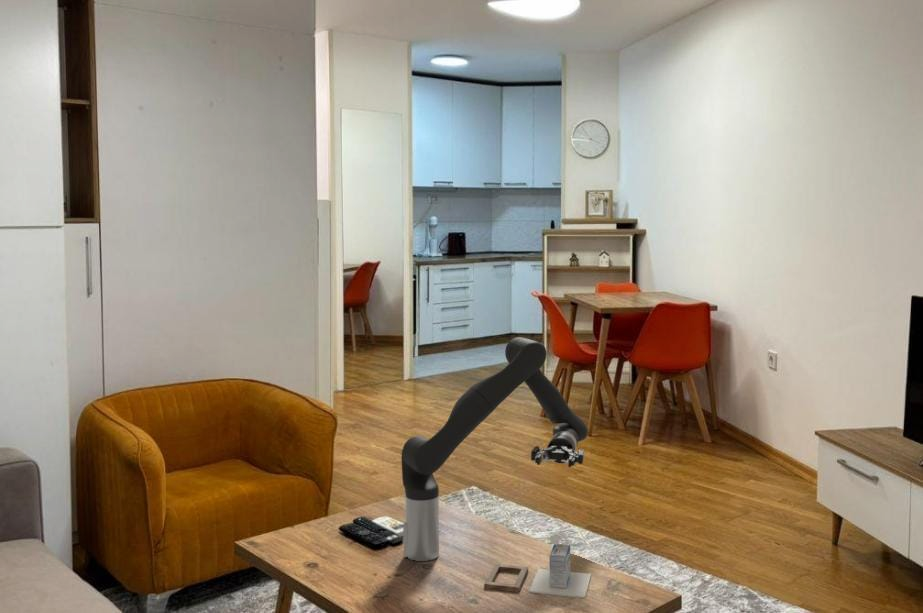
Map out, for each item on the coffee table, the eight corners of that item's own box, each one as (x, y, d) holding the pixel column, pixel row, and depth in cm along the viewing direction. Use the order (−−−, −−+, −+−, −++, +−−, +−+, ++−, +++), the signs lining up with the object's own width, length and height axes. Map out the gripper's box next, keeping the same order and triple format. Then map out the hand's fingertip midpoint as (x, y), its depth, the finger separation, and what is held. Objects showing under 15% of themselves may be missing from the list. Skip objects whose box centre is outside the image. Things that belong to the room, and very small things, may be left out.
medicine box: (566, 589, 219) (567, 556, 218) (549, 587, 220) (549, 554, 219) (570, 576, 227) (570, 544, 226) (553, 574, 228) (553, 543, 227)
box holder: (484, 588, 221) (484, 583, 221) (495, 568, 233) (495, 563, 233) (519, 592, 219) (519, 587, 218) (528, 571, 231) (528, 567, 231)
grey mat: (529, 592, 218) (529, 590, 218) (538, 570, 232) (538, 568, 232) (584, 598, 215) (585, 596, 215) (591, 575, 228) (591, 574, 228)
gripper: (538, 432, 251) (527, 447, 235) (587, 435, 247) (580, 450, 232) (537, 457, 252) (527, 474, 236) (587, 461, 248) (580, 477, 232)
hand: (553, 462), depth 234 cm, fingers open, 8 cm apart
